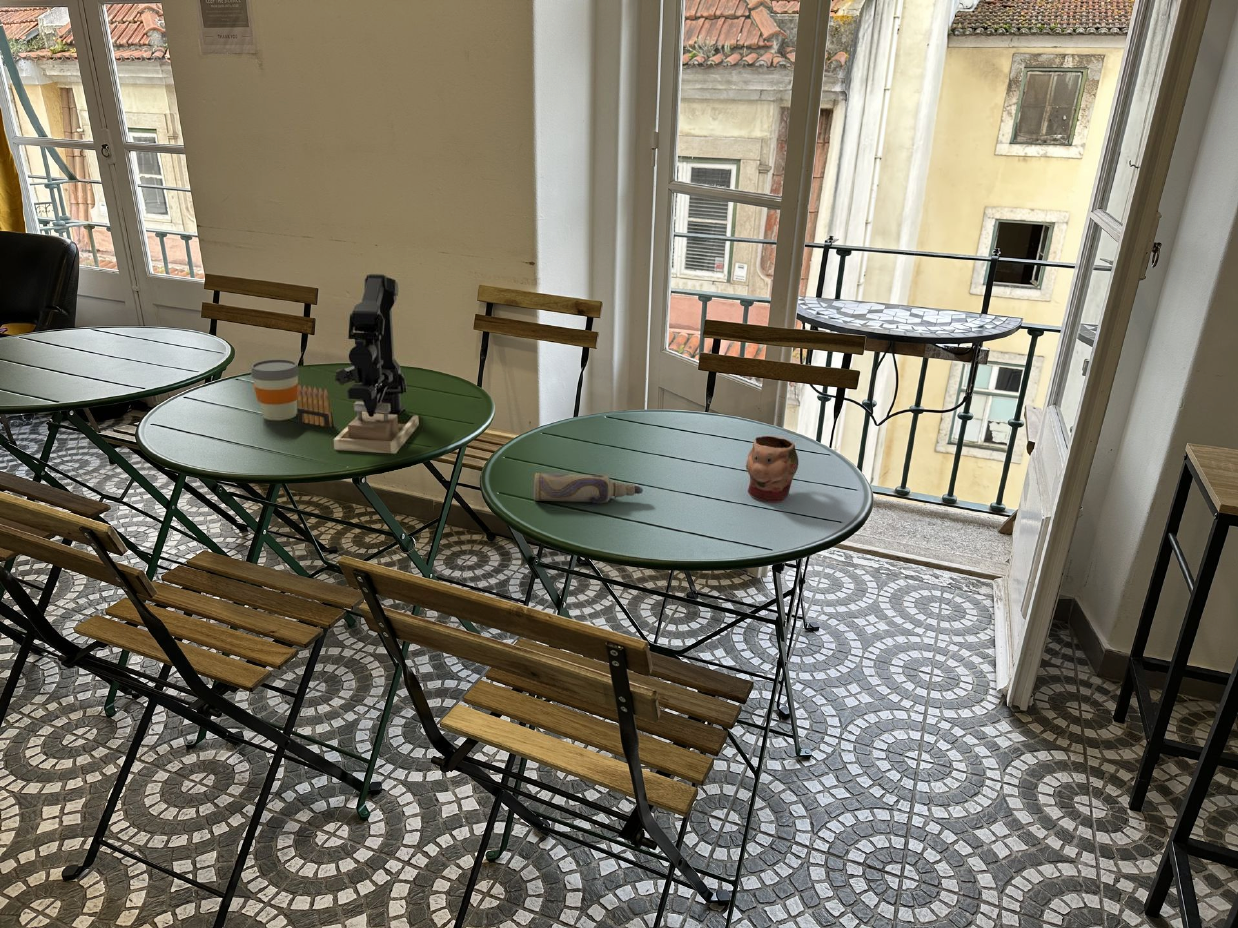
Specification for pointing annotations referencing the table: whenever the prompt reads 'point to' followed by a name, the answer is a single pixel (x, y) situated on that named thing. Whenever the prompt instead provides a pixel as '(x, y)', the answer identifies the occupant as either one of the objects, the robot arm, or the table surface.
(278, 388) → the reusable coffee cup
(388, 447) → the bay
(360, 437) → the panel with bar handle
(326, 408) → the ammunition clip
